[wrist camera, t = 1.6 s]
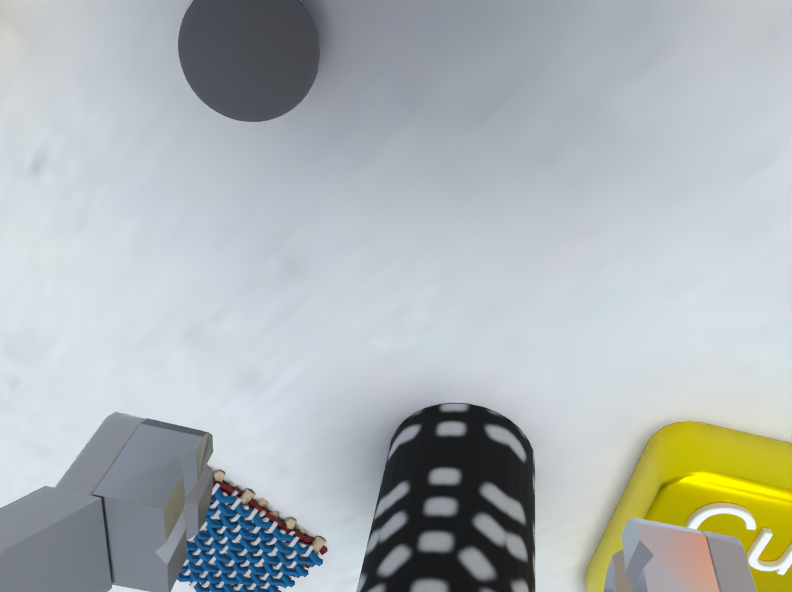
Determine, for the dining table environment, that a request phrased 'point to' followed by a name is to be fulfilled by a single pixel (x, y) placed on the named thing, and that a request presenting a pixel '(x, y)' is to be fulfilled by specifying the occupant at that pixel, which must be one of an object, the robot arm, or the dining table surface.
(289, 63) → the dark grey round ball
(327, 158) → the dining table surface
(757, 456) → the element tile
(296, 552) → the woven mat
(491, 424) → the spotted tube
